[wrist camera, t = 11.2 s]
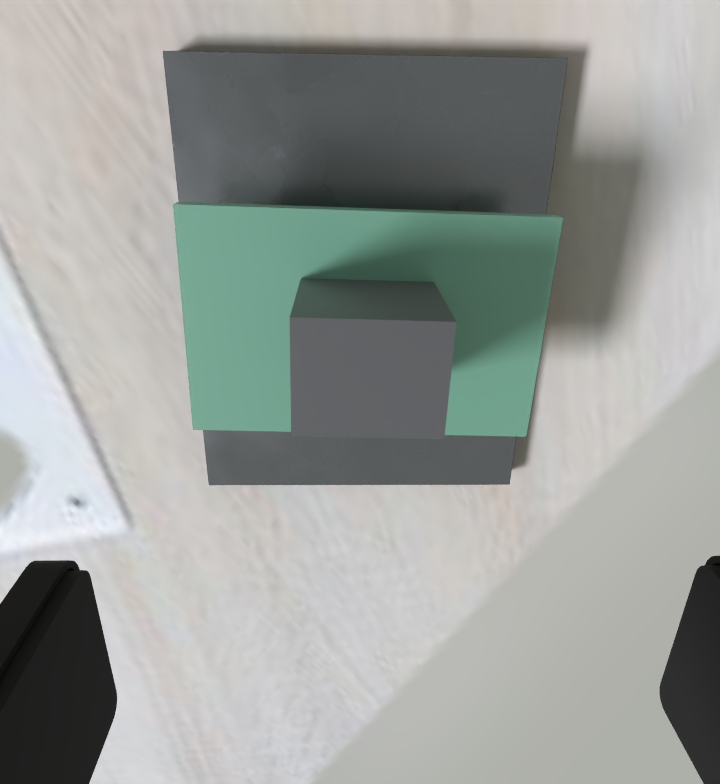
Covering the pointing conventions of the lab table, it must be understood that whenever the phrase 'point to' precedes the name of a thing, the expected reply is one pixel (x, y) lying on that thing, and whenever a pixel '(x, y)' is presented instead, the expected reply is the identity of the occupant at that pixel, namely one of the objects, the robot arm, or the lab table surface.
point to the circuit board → (363, 245)
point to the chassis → (363, 197)
